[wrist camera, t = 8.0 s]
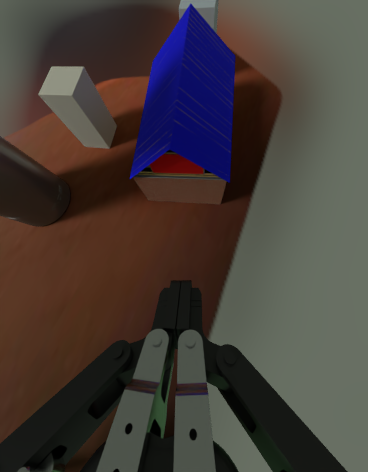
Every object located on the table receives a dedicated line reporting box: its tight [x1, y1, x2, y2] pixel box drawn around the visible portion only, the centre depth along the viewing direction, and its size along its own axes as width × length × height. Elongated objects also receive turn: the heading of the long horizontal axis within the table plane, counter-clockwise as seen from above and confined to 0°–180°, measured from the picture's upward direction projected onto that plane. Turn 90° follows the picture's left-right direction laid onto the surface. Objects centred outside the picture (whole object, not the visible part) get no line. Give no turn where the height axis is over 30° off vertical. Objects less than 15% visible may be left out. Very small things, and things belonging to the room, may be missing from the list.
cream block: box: [38, 67, 117, 149], centre depth 26 cm, size 5×5×9 cm
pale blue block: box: [179, 0, 218, 33], centre depth 27 cm, size 5×5×9 cm
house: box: [130, 3, 235, 204], centre depth 22 cm, size 12×20×12 cm, turn 174°
